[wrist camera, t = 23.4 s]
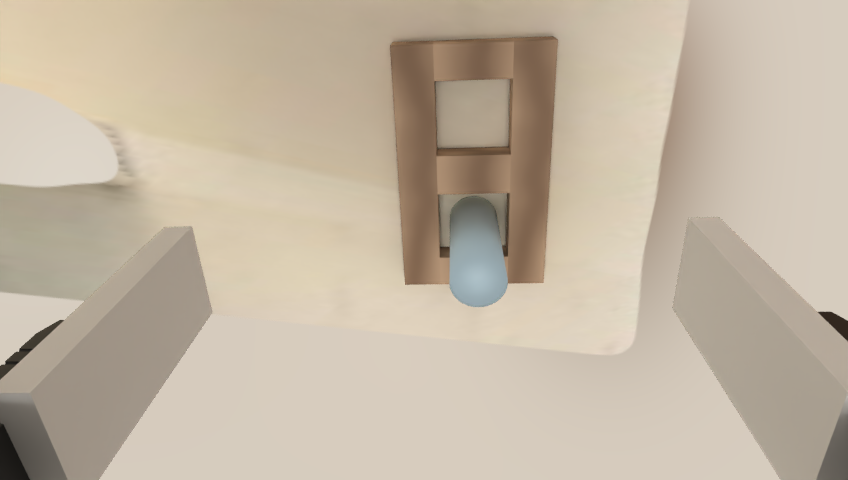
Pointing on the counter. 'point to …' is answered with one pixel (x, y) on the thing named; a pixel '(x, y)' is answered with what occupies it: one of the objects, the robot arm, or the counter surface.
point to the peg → (476, 253)
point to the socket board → (474, 149)
